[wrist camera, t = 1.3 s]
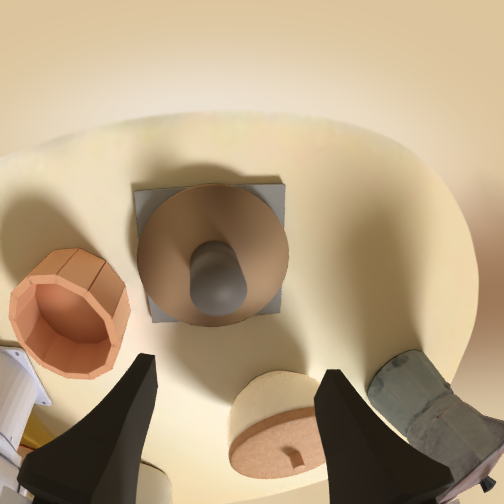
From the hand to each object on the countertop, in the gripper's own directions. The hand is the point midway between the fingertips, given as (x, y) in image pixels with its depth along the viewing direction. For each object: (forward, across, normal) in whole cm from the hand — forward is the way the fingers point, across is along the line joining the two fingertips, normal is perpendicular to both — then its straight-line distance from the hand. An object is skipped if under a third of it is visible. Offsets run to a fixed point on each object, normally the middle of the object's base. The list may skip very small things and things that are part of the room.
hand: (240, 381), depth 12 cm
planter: (+9, +12, +4) cm, 16 cm away
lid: (+10, +2, 0) cm, 11 cm away
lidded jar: (+11, -5, +14) cm, 18 cm away
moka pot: (+13, -21, +15) cm, 29 cm away
